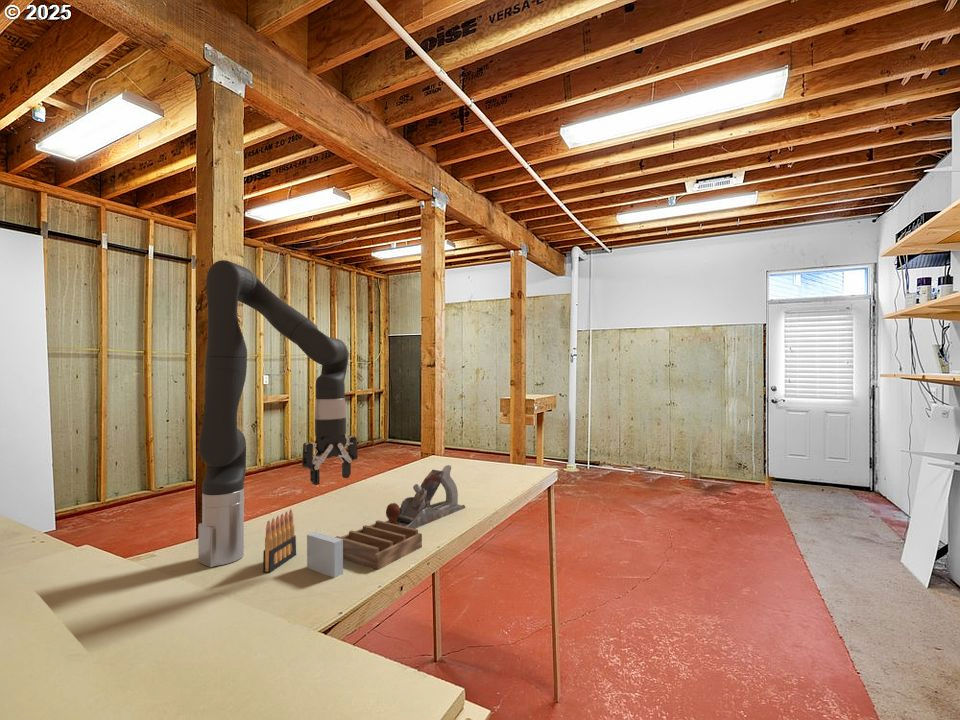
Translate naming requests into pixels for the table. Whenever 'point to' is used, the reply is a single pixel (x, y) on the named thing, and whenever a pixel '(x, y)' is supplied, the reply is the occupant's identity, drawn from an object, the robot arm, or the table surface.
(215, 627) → the table surface
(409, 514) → the hand plane
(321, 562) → the tile
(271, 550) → the ammunition clip
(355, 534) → the rack
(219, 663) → the table surface
